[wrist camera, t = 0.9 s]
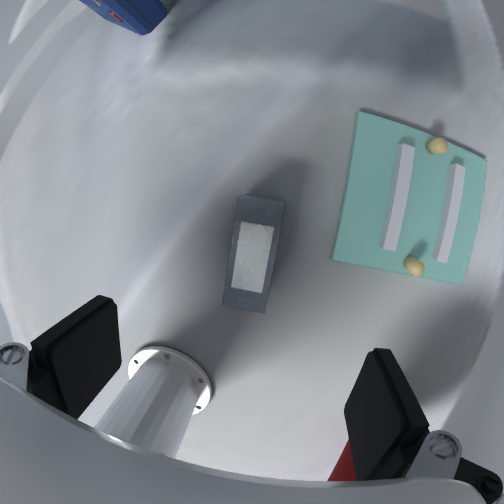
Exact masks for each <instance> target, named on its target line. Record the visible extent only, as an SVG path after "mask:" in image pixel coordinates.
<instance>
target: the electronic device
mask: <svg viewBox="0 0 504 504" xmlns="http://www.w3.org/2000/svg"><path fill="white" fill-rule="evenodd" d="M79 1H81V2H82V3H84V4H85V5H87V6H88V7H90V8H91V9H92V10H94V11H95V12H96V13H98V14H99V15H100V16H102V17H103V18H105V19H106V20H108V21H110V22H113V23H115V24H117V25H120V26H122V27H124V28H126V29H129V30H131V31H133V32H135V33H137V34H139V35H145V34H148V33H150V32H151V31H152V30H153V29H154V27H156V25H157V24H158V23H159V22H160V21H161V20H162V19H163V18H164V17H165V16H166V11H167V10H166V8H165V7H164V5H163V4H162V3H161V2H160V0H79Z"/></svg>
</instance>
